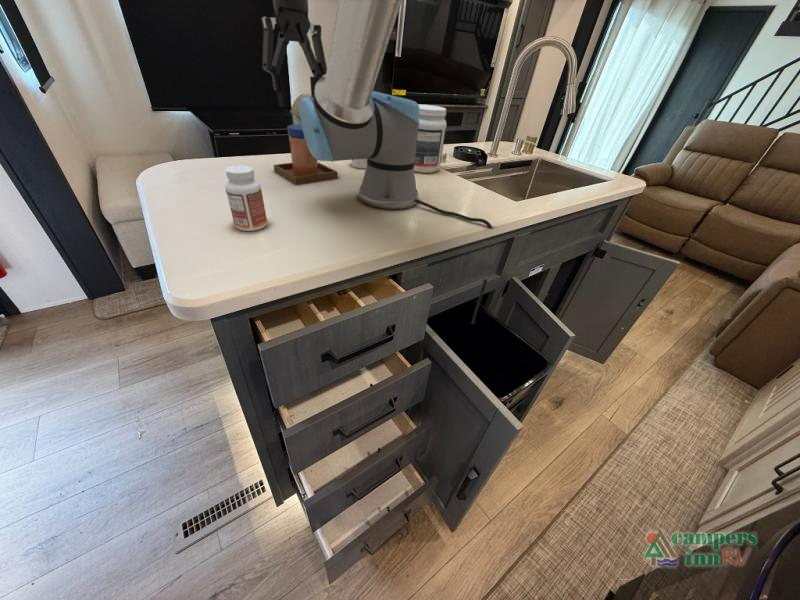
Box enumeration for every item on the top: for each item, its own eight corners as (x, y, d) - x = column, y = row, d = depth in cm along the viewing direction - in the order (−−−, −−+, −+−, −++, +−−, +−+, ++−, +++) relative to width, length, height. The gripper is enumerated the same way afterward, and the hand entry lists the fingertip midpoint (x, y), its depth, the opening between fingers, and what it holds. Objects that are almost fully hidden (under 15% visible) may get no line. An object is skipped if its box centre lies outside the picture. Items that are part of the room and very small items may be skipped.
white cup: (376, 165, 109) (378, 132, 103) (369, 170, 103) (369, 136, 97) (355, 161, 111) (355, 129, 105) (346, 166, 104) (345, 132, 98)
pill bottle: (265, 217, 69) (256, 163, 62) (269, 230, 64) (259, 173, 58) (234, 220, 67) (220, 164, 60) (235, 233, 62) (221, 174, 55)
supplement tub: (411, 161, 117) (417, 102, 106) (444, 168, 113) (454, 108, 102) (396, 168, 108) (400, 105, 96) (431, 176, 104) (440, 111, 93)
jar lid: (321, 137, 88) (321, 129, 87) (296, 138, 84) (295, 130, 83) (307, 131, 92) (307, 124, 91) (283, 133, 88) (282, 125, 87)
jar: (323, 175, 94) (320, 131, 87) (300, 178, 90) (296, 132, 83) (310, 168, 98) (307, 126, 91) (288, 171, 94) (283, 127, 87)
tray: (337, 178, 94) (337, 171, 93) (296, 184, 87) (295, 177, 86) (314, 166, 102) (314, 160, 101) (274, 171, 94) (273, 164, 93)
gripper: (323, -4, 78) (327, 104, 92) (232, -23, 66) (252, 104, 80) (340, -4, 74) (342, 108, 88) (246, -25, 62) (265, 109, 76)
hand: (299, 106), depth 84 cm, fingers open, 9 cm apart
